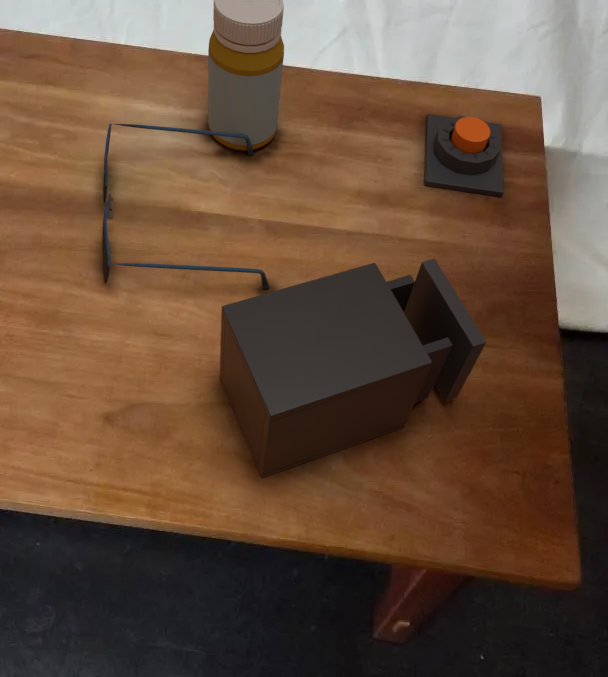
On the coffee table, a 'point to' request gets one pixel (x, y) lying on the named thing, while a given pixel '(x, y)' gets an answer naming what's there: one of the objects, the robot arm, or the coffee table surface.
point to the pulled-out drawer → (439, 328)
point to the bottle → (245, 70)
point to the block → (462, 160)
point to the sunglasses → (110, 213)
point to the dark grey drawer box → (319, 367)
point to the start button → (470, 135)
